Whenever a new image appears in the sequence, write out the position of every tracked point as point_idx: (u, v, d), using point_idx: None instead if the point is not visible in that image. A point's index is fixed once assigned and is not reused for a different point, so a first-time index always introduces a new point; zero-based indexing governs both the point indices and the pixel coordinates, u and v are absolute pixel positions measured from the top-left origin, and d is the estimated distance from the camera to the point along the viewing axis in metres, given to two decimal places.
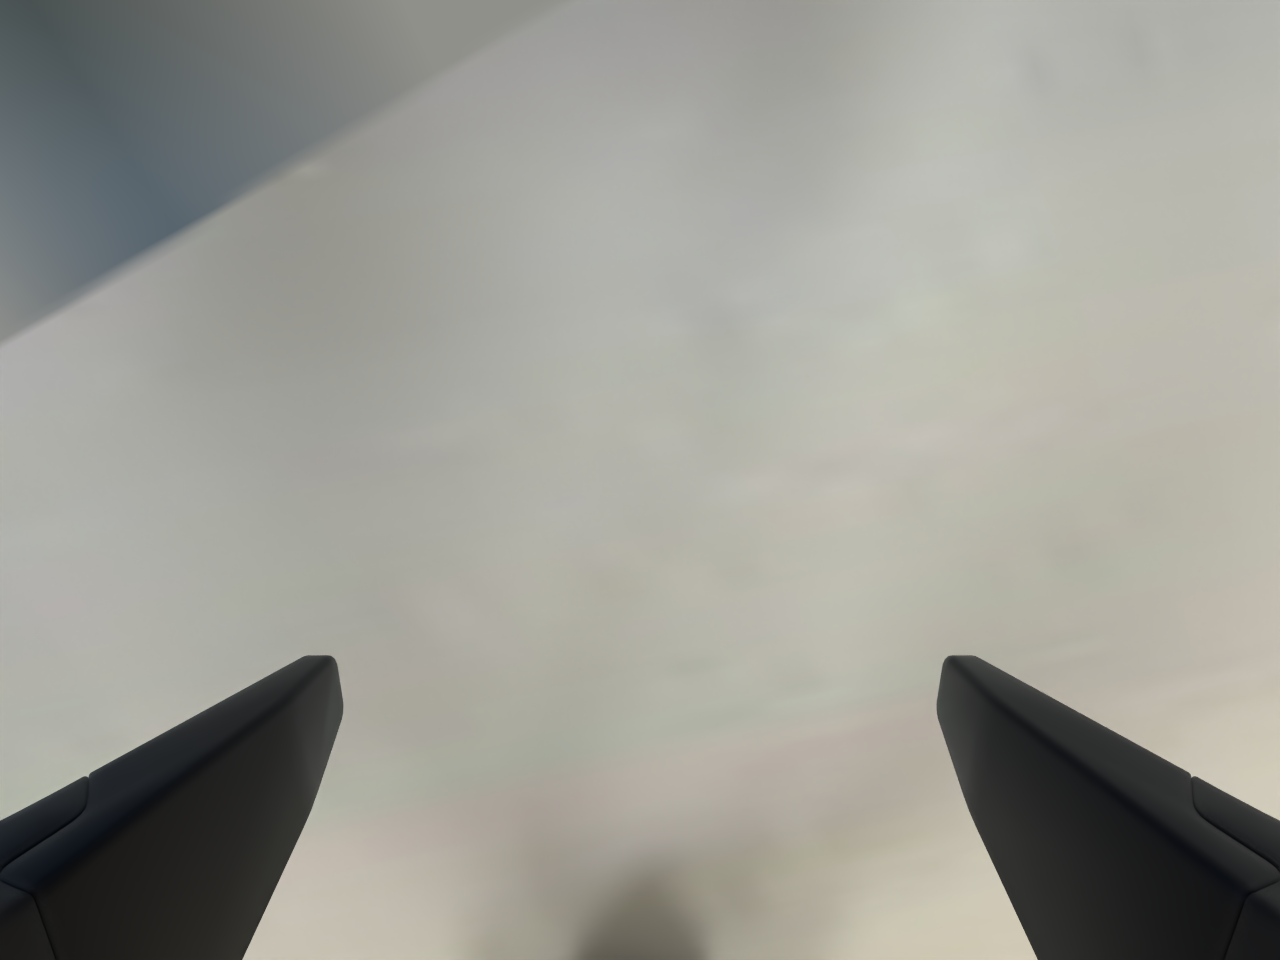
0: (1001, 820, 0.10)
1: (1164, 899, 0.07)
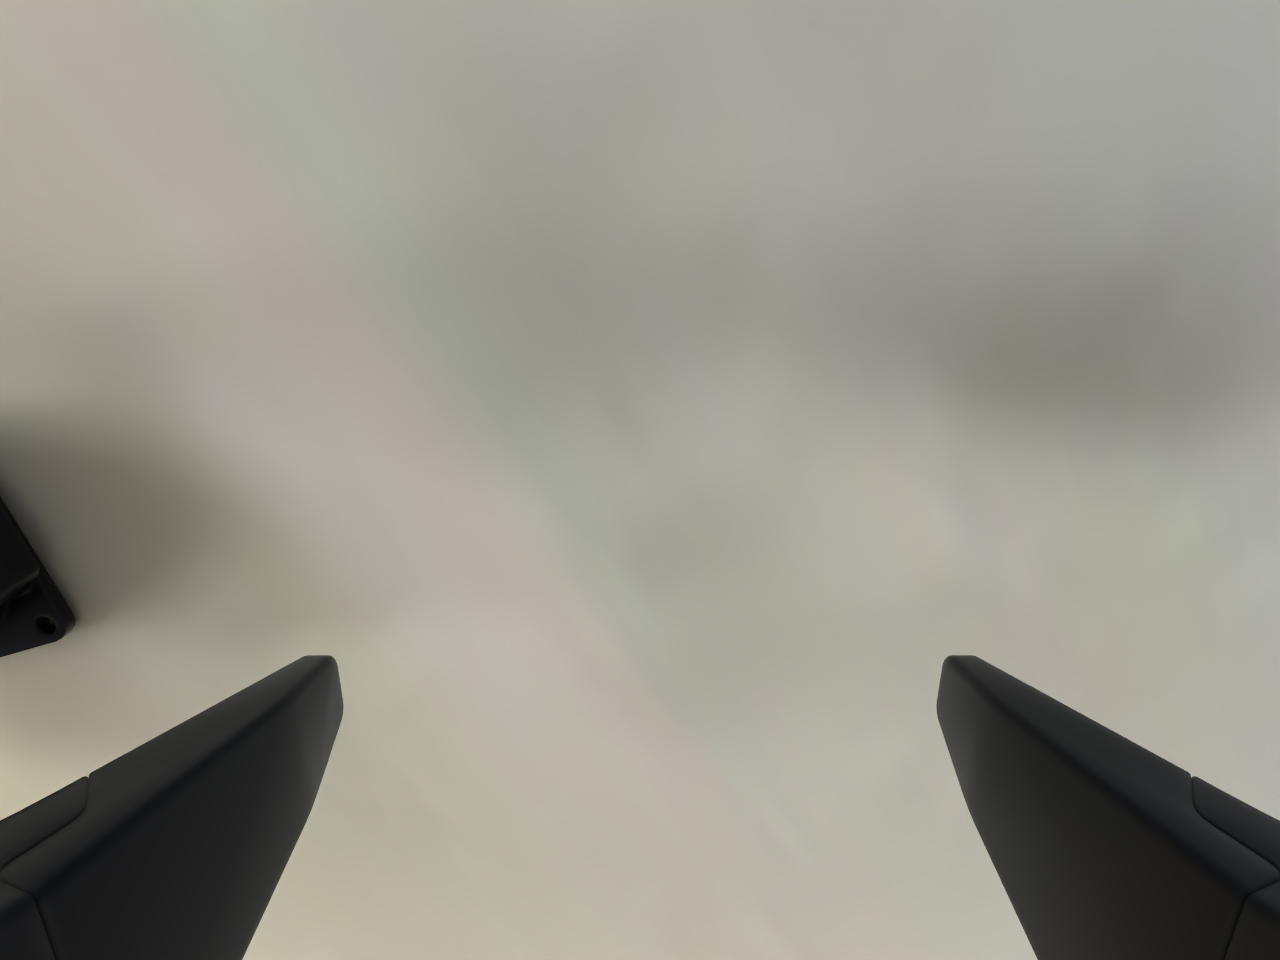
0: (1001, 820, 0.10)
1: (1164, 899, 0.07)
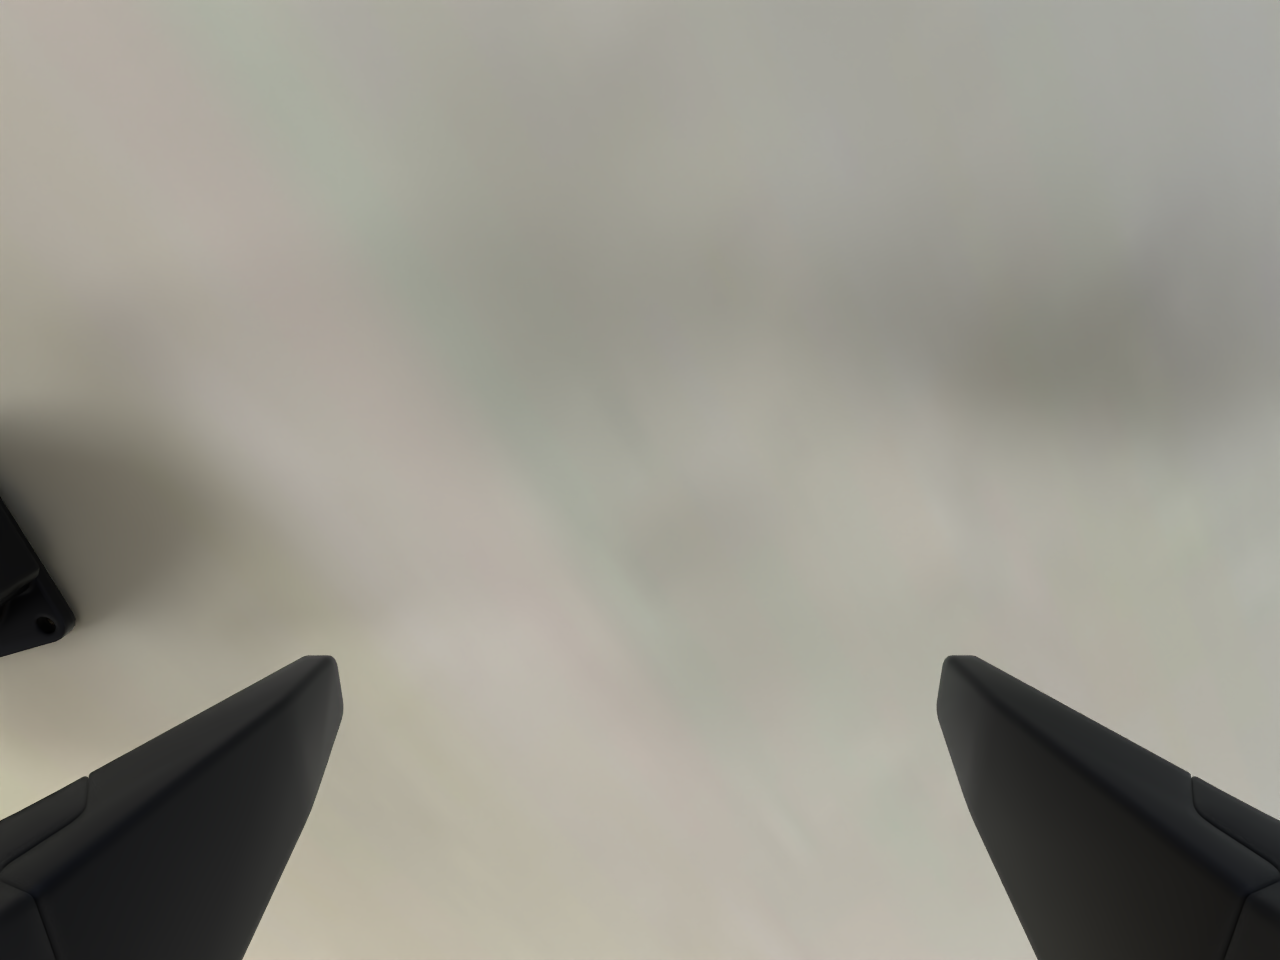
0: (1001, 820, 0.10)
1: (1164, 899, 0.07)
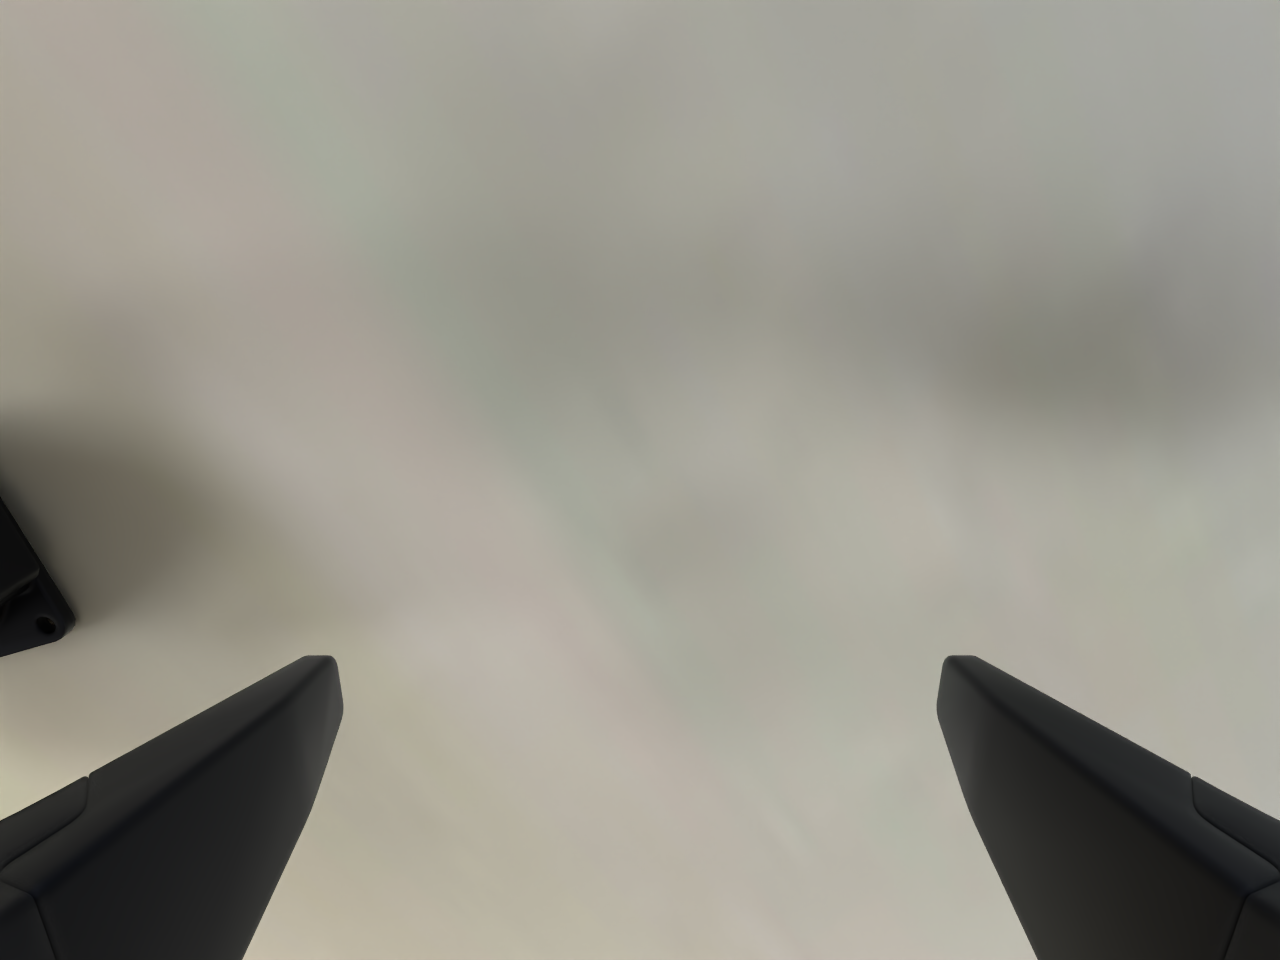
0: (1001, 820, 0.10)
1: (1164, 899, 0.07)
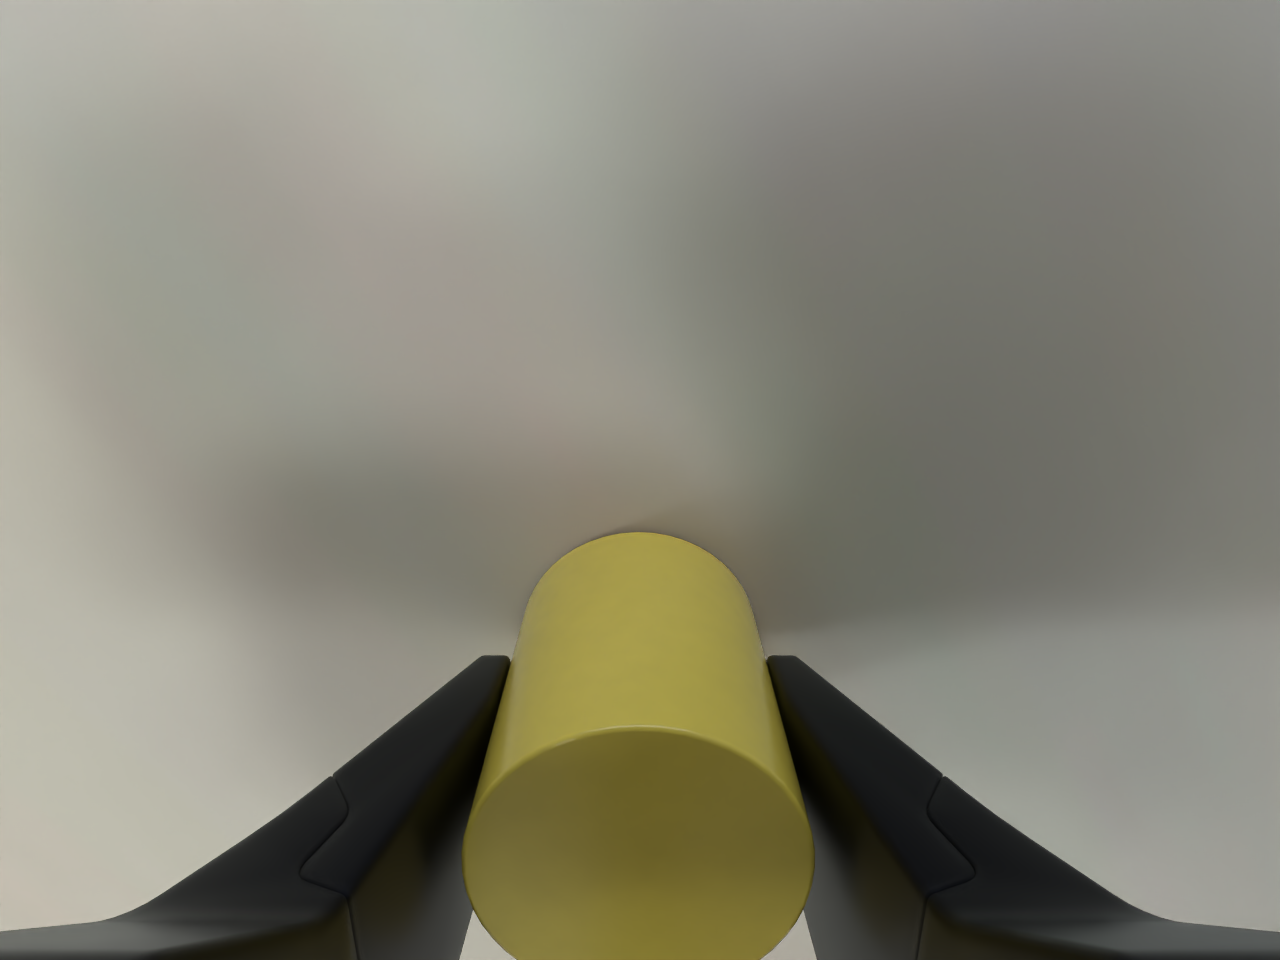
0: None
1: (883, 899, 0.07)
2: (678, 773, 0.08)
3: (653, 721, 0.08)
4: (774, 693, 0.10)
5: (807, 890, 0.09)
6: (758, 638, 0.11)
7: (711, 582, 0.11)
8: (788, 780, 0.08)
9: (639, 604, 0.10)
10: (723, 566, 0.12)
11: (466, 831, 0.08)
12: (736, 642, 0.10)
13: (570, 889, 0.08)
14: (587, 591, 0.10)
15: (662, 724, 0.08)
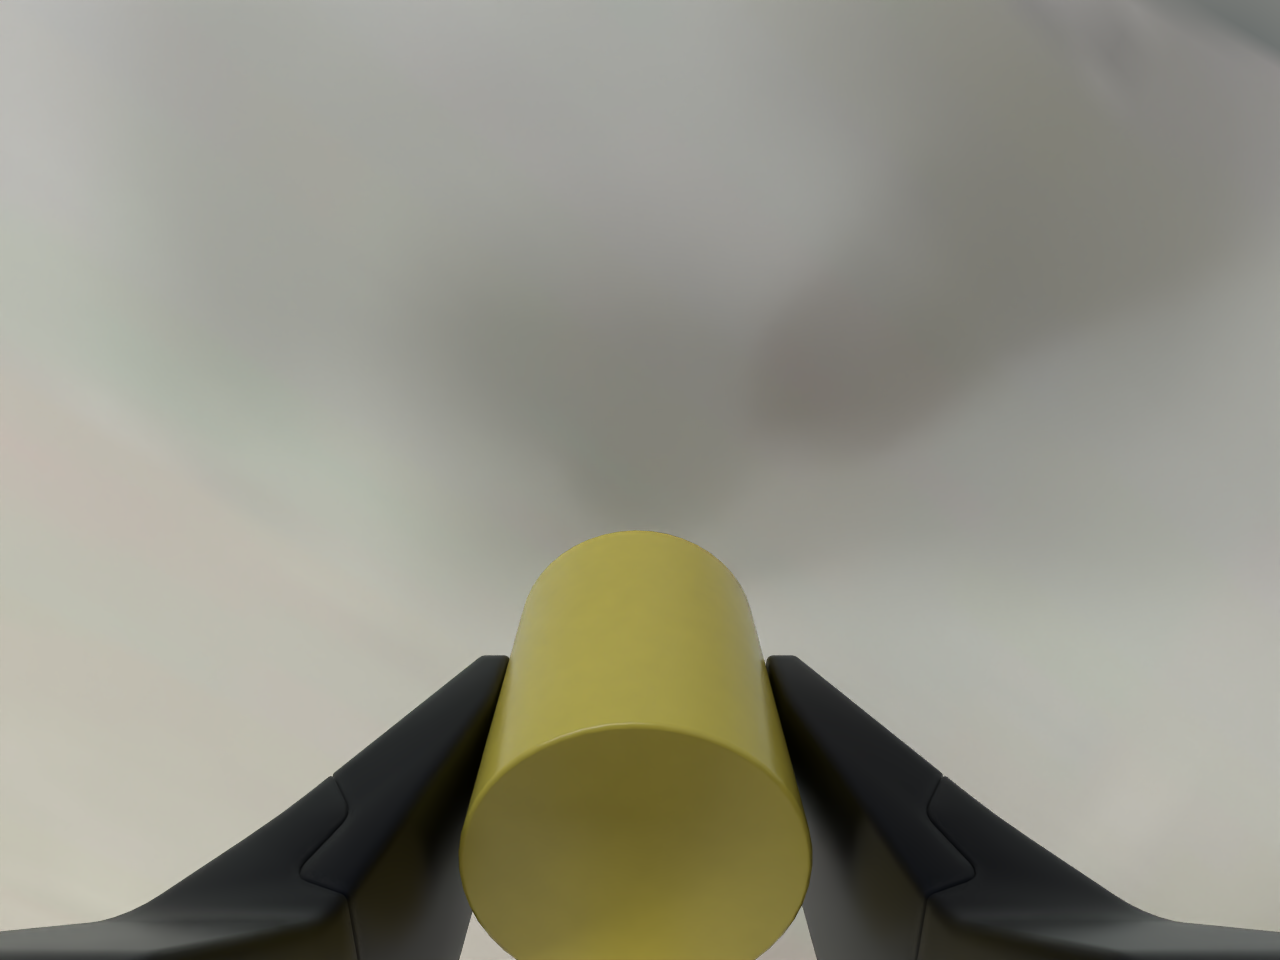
0: None
1: (883, 899, 0.07)
2: (676, 771, 0.08)
3: (650, 720, 0.08)
4: (772, 691, 0.10)
5: (804, 888, 0.09)
6: (756, 636, 0.11)
7: (709, 580, 0.11)
8: (785, 778, 0.08)
9: (636, 601, 0.10)
10: (721, 564, 0.12)
11: (463, 829, 0.08)
12: (733, 639, 0.10)
13: (567, 887, 0.08)
14: (584, 588, 0.10)
15: (660, 721, 0.08)
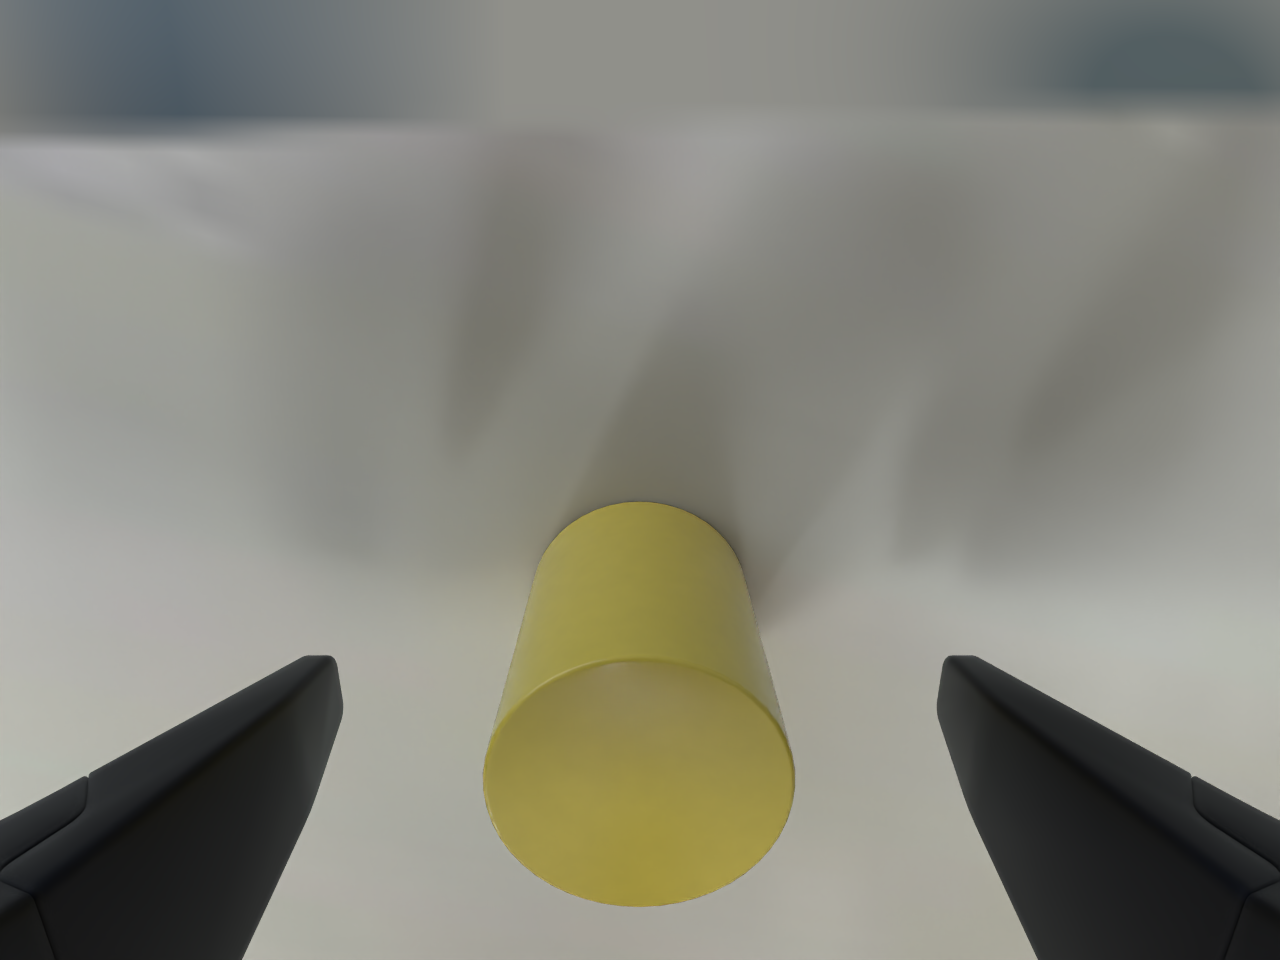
0: (1001, 820, 0.10)
1: (1164, 900, 0.07)
2: (675, 700, 0.09)
3: (651, 653, 0.09)
4: None
5: (788, 808, 0.10)
6: (748, 596, 0.12)
7: (705, 545, 0.12)
8: (771, 707, 0.09)
9: (639, 560, 0.11)
10: (717, 533, 0.13)
11: (487, 752, 0.09)
12: (727, 594, 0.11)
13: (579, 806, 0.09)
14: (592, 550, 0.12)
15: (661, 655, 0.09)
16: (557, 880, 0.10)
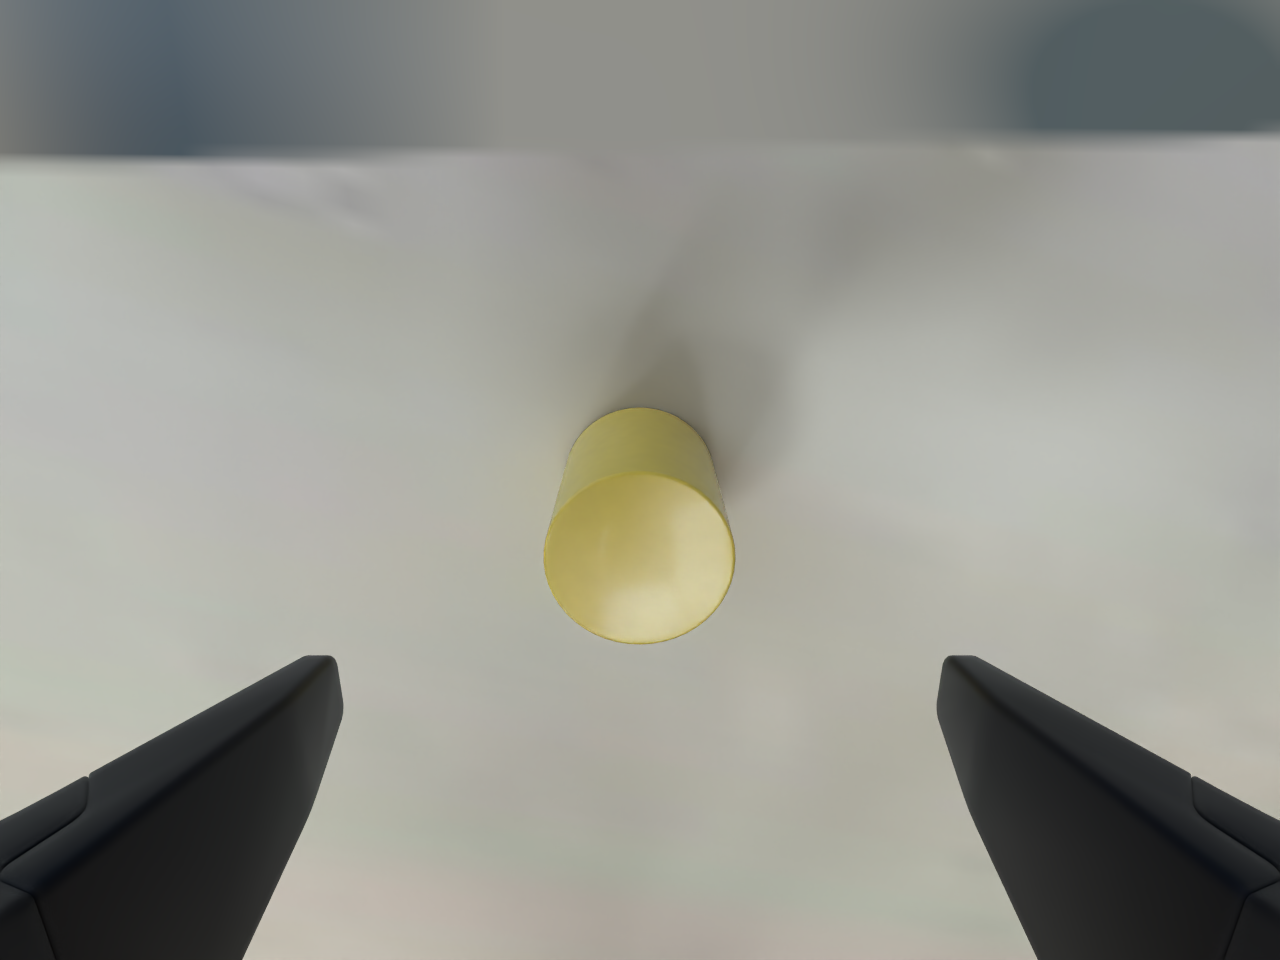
0: (1001, 820, 0.10)
1: (1164, 900, 0.07)
2: (661, 500, 0.15)
3: (646, 470, 0.15)
4: (720, 492, 0.17)
5: (732, 576, 0.16)
6: (713, 467, 0.18)
7: (684, 432, 0.18)
8: (719, 508, 0.15)
9: (639, 434, 0.17)
10: (693, 429, 0.19)
11: (547, 535, 0.15)
12: (697, 456, 0.17)
13: (602, 572, 0.15)
14: (608, 432, 0.18)
15: (652, 472, 0.15)
16: (588, 625, 0.16)
